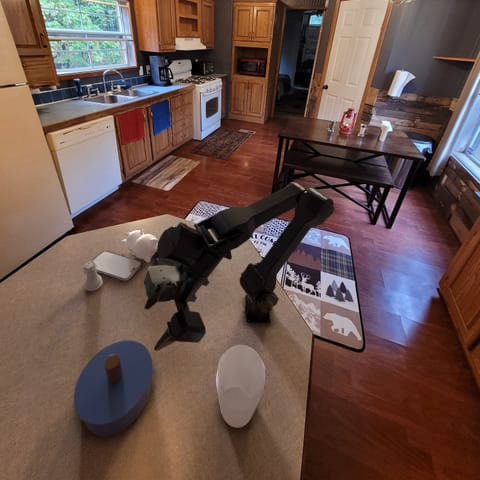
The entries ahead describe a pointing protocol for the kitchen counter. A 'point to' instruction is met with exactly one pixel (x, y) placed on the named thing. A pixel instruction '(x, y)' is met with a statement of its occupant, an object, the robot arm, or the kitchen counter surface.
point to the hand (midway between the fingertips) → (150, 327)
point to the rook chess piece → (92, 277)
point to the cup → (239, 384)
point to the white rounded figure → (141, 244)
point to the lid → (113, 382)
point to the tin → (123, 422)
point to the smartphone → (116, 265)
